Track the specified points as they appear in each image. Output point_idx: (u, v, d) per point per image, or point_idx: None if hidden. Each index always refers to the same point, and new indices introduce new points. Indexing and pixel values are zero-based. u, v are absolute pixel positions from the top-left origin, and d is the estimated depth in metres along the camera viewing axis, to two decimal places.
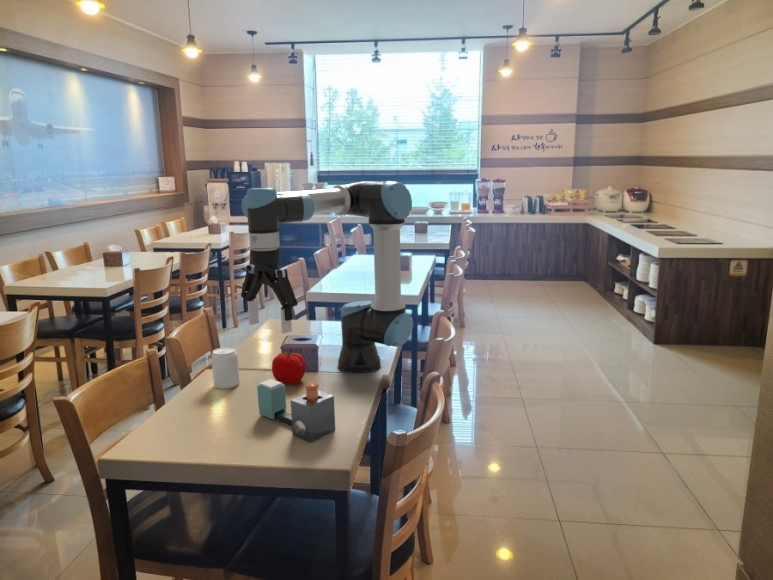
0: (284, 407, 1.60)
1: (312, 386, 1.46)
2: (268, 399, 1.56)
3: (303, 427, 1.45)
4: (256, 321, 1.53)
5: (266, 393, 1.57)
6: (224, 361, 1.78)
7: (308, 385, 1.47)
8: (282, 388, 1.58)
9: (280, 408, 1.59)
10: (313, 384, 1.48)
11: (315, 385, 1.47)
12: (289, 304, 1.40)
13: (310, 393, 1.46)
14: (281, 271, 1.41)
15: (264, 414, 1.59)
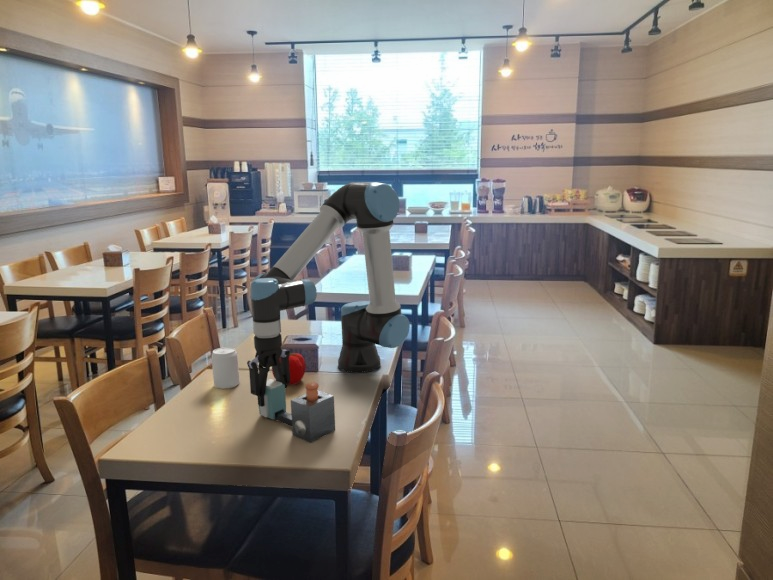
0: (284, 407, 1.60)
1: (312, 386, 1.46)
2: (268, 399, 1.56)
3: (303, 427, 1.45)
4: None
5: (266, 393, 1.57)
6: (224, 361, 1.78)
7: (308, 385, 1.47)
8: (282, 388, 1.58)
9: (280, 408, 1.59)
10: (313, 384, 1.48)
11: (315, 385, 1.47)
12: None
13: (310, 393, 1.46)
14: (248, 363, 1.52)
15: None
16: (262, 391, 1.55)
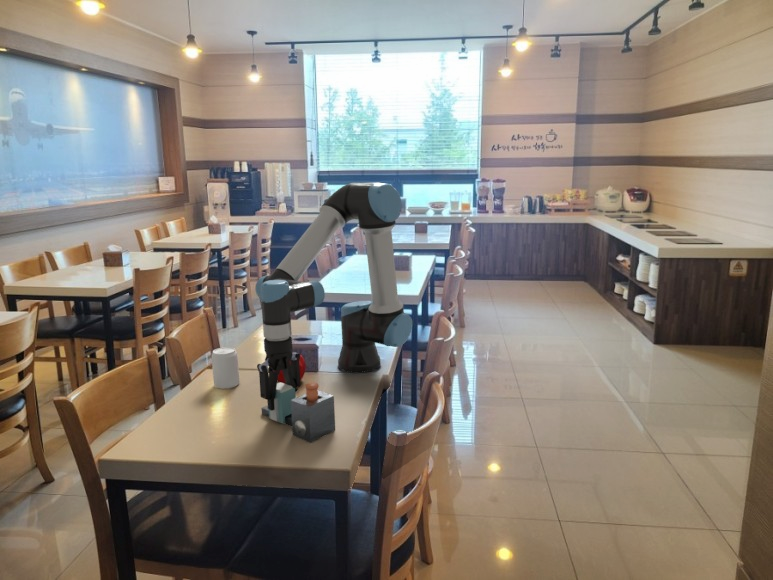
0: None
1: (312, 386, 1.46)
2: (278, 403, 1.54)
3: (303, 427, 1.45)
4: None
5: (276, 397, 1.54)
6: (224, 361, 1.78)
7: (308, 385, 1.47)
8: (292, 392, 1.56)
9: (290, 412, 1.56)
10: (313, 384, 1.48)
11: (315, 385, 1.47)
12: None
13: (310, 393, 1.46)
14: (258, 367, 1.50)
15: None
16: (272, 395, 1.52)
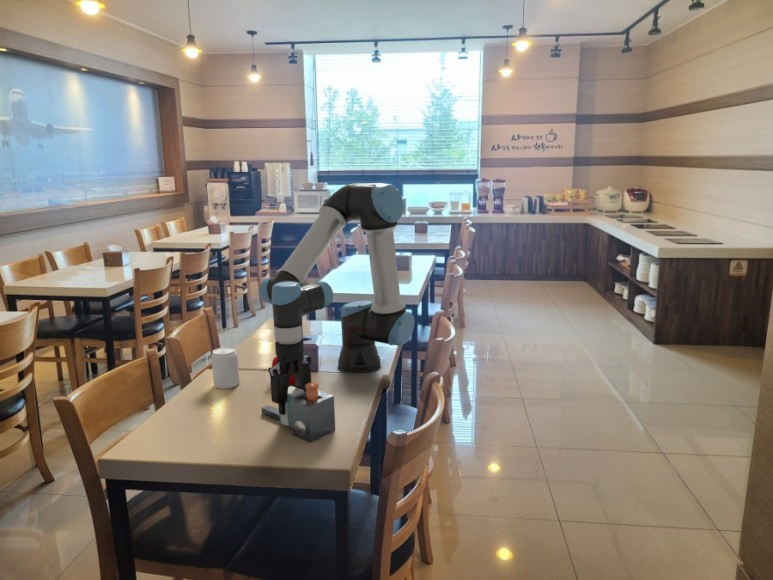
0: None
1: (312, 386, 1.46)
2: (289, 407, 1.51)
3: (303, 427, 1.45)
4: None
5: (287, 401, 1.51)
6: (224, 361, 1.78)
7: (308, 385, 1.47)
8: None
9: None
10: (313, 384, 1.48)
11: (315, 385, 1.47)
12: None
13: (310, 393, 1.46)
14: (269, 370, 1.47)
15: None
16: (283, 399, 1.49)
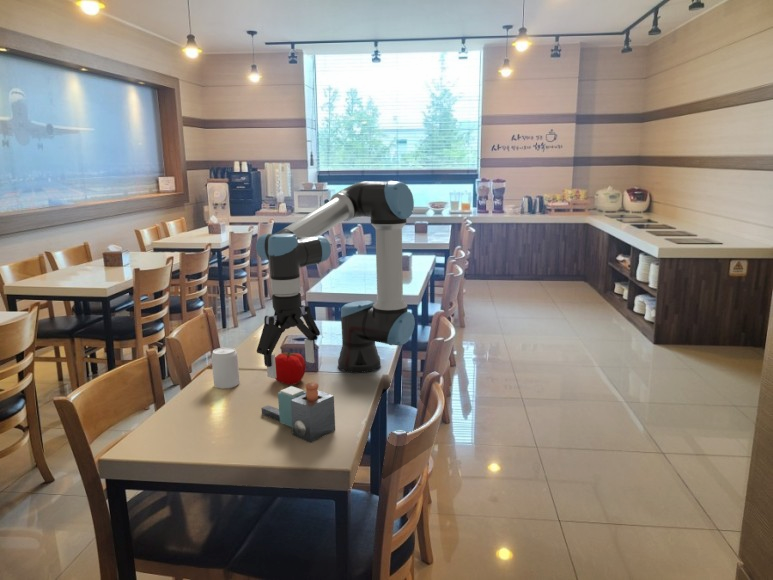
0: None
1: (312, 386, 1.46)
2: (289, 408, 1.51)
3: (303, 427, 1.45)
4: (310, 360, 1.56)
5: (287, 401, 1.51)
6: (224, 361, 1.78)
7: (308, 385, 1.47)
8: None
9: None
10: (313, 384, 1.48)
11: (315, 385, 1.47)
12: None
13: (310, 393, 1.46)
14: (266, 317, 1.44)
15: (285, 423, 1.54)
16: (270, 349, 1.44)
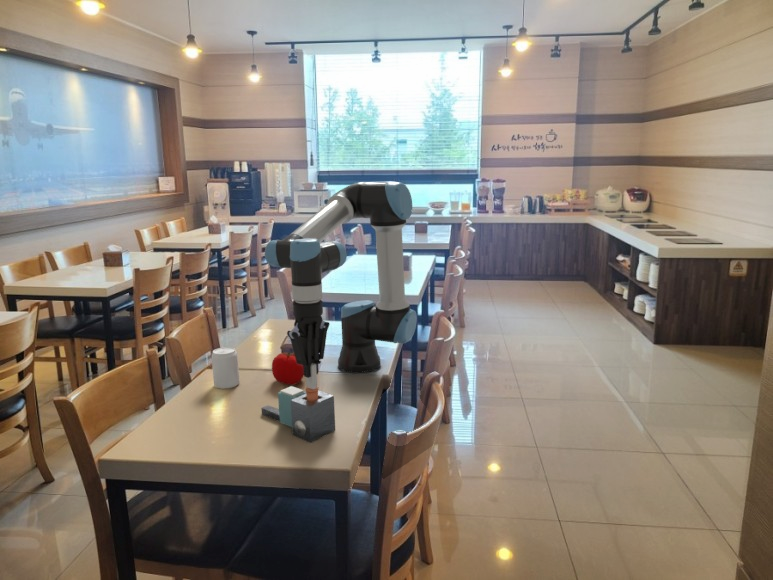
0: None
1: (312, 389, 1.46)
2: (289, 408, 1.51)
3: (303, 427, 1.45)
4: None
5: (287, 401, 1.51)
6: (224, 361, 1.78)
7: (308, 388, 1.47)
8: None
9: None
10: None
11: None
12: None
13: (310, 396, 1.46)
14: (288, 334, 1.40)
15: (285, 423, 1.54)
16: (308, 361, 1.44)
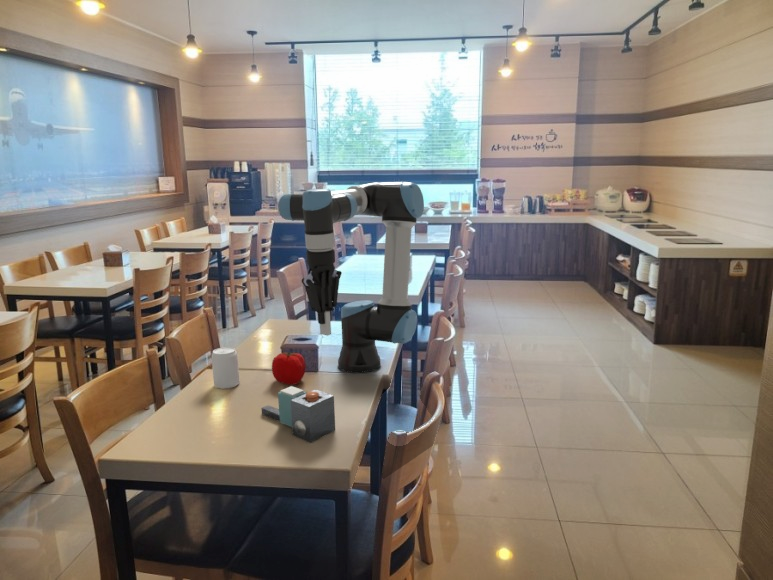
0: None
1: (312, 395, 1.47)
2: (289, 408, 1.51)
3: (303, 427, 1.45)
4: None
5: (287, 401, 1.51)
6: (224, 361, 1.78)
7: (308, 394, 1.48)
8: None
9: None
10: (313, 393, 1.48)
11: (315, 394, 1.47)
12: None
13: None
14: (303, 282, 1.45)
15: (285, 423, 1.54)
16: (322, 308, 1.49)
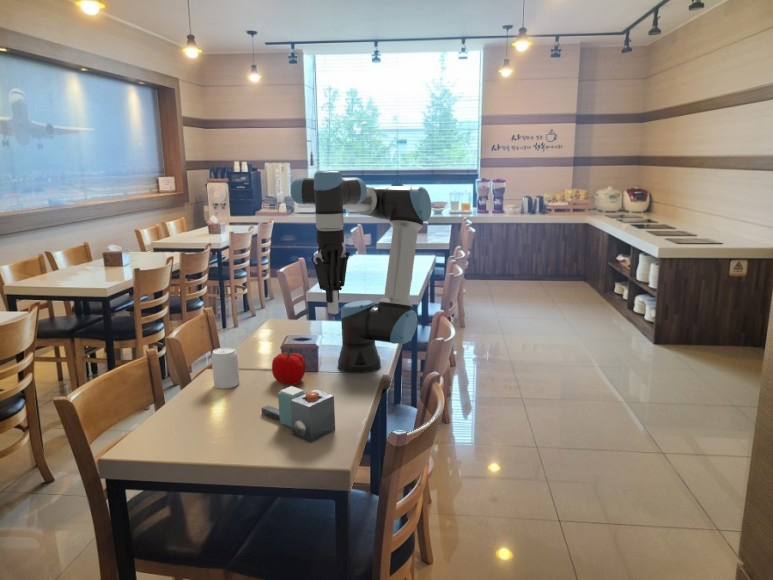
0: None
1: (312, 395, 1.47)
2: (289, 408, 1.51)
3: (303, 427, 1.45)
4: None
5: (287, 401, 1.51)
6: (224, 361, 1.78)
7: (308, 394, 1.48)
8: None
9: None
10: (313, 393, 1.48)
11: (315, 394, 1.47)
12: None
13: None
14: (313, 260, 1.50)
15: (285, 423, 1.54)
16: (331, 287, 1.54)
